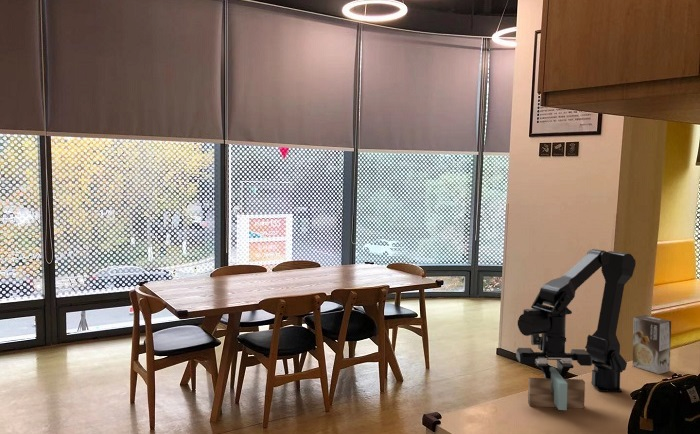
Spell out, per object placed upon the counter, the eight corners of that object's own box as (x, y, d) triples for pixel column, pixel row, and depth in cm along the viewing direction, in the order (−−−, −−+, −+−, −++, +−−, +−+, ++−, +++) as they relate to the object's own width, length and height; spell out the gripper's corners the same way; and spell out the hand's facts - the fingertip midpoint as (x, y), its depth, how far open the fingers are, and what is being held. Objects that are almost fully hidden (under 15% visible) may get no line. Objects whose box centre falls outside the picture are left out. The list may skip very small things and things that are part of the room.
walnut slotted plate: (581, 405, 144) (582, 379, 144) (584, 408, 142) (585, 382, 142) (527, 402, 145) (528, 377, 145) (529, 406, 143) (530, 380, 143)
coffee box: (671, 371, 169) (673, 320, 168) (658, 374, 166) (660, 323, 165) (643, 362, 177) (645, 314, 176) (630, 365, 174) (632, 316, 173)
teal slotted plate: (566, 410, 138) (567, 383, 137) (558, 409, 138) (559, 383, 137) (553, 391, 150) (554, 367, 149) (546, 391, 150) (546, 366, 149)
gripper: (580, 323, 153) (578, 377, 154) (512, 322, 155) (511, 375, 156) (593, 335, 142) (592, 393, 143) (521, 333, 144) (519, 390, 145)
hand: (552, 387), depth 147 cm, fingers closed on teal slotted plate, 2 cm apart
